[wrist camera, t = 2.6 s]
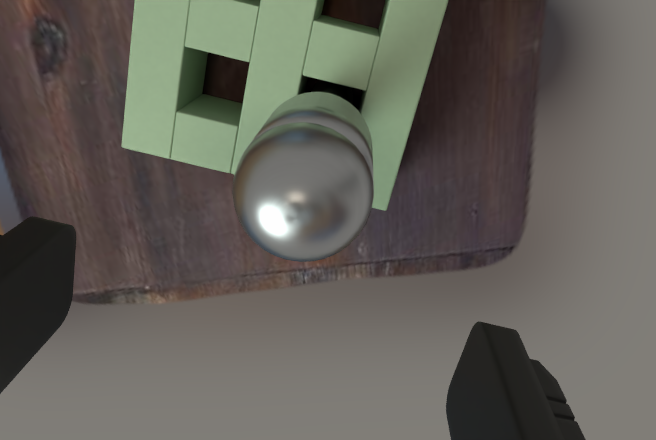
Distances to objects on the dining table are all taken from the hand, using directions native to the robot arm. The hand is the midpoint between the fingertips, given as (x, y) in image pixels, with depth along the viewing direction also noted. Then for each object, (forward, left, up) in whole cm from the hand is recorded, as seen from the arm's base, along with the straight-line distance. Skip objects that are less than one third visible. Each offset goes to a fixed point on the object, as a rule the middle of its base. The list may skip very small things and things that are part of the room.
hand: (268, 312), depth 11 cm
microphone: (0, 0, -23) cm, 23 cm away
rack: (+3, -3, -23) cm, 24 cm away
